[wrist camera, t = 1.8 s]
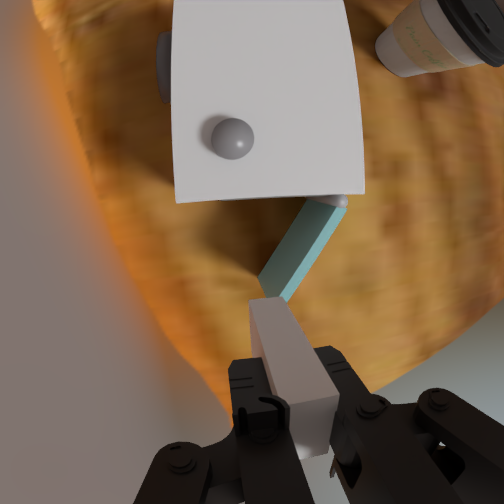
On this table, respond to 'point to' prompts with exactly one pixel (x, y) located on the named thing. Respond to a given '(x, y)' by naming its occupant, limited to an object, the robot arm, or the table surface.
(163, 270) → the table surface
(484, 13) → the coffee cup
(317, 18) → the cabinet body
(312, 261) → the side door
